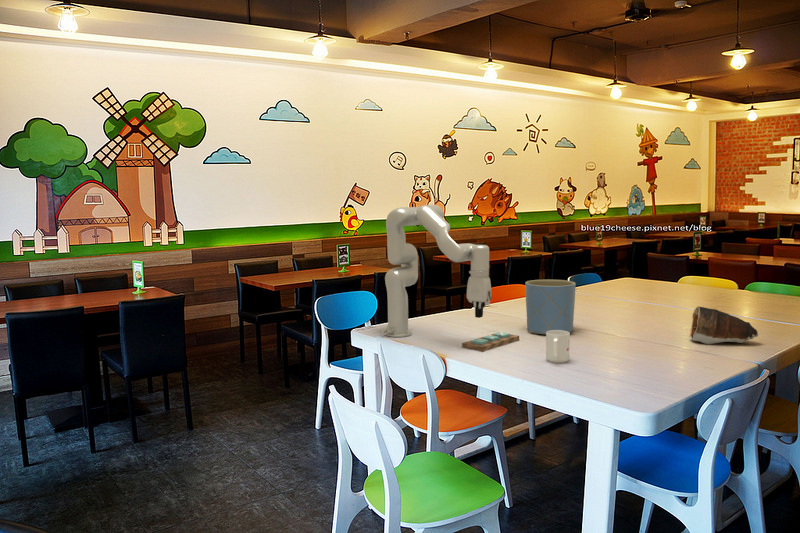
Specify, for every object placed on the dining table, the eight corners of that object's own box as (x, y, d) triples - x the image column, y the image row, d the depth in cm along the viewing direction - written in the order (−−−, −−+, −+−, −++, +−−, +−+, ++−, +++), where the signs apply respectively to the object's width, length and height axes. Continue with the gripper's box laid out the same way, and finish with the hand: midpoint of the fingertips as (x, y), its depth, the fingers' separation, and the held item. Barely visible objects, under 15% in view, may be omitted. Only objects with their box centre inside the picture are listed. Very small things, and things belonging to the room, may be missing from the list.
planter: (534, 325, 299) (534, 278, 297) (580, 329, 288) (581, 280, 285) (518, 334, 280) (518, 284, 277) (567, 339, 268) (567, 287, 266)
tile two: (492, 345, 259) (492, 338, 258) (483, 343, 262) (483, 336, 262) (499, 343, 262) (499, 336, 262) (489, 341, 266) (489, 334, 266)
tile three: (503, 341, 265) (503, 335, 264) (493, 340, 268) (493, 333, 268) (509, 339, 268) (509, 333, 268) (500, 338, 272) (500, 331, 271)
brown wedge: (767, 320, 245) (700, 306, 252) (758, 356, 246) (692, 341, 253) (756, 317, 259) (694, 304, 267) (748, 352, 260) (686, 338, 267)
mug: (547, 356, 240) (547, 329, 238) (570, 358, 236) (571, 330, 235) (542, 364, 229) (543, 335, 227) (566, 366, 225) (567, 337, 224)
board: (482, 351, 249) (482, 347, 249) (461, 347, 257) (461, 343, 256) (519, 340, 268) (519, 335, 268) (498, 336, 276) (498, 332, 276)
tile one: (481, 348, 253) (481, 341, 253) (471, 346, 257) (471, 340, 256) (488, 346, 257) (488, 339, 256) (479, 344, 260) (478, 337, 260)
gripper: (460, 273, 256) (459, 315, 258) (488, 277, 245) (488, 321, 248) (471, 271, 261) (470, 313, 263) (499, 275, 251) (498, 318, 253)
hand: (478, 317), depth 256 cm, fingers closed
